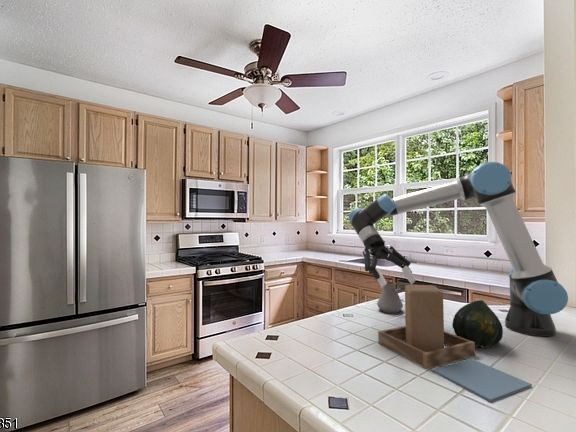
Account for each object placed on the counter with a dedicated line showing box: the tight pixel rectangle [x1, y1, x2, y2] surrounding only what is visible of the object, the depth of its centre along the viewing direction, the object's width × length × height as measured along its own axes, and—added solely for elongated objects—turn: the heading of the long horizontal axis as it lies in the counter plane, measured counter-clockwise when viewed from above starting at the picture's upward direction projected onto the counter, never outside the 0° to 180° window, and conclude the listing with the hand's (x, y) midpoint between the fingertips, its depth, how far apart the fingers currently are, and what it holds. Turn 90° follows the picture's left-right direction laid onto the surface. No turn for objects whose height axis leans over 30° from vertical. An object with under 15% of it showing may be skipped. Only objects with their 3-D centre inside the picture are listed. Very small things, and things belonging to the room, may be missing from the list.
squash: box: [452, 300, 504, 348], centre depth 105 cm, size 14×15×15 cm
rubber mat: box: [432, 357, 533, 403], centre depth 81 cm, size 16×16×1 cm
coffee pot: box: [376, 281, 416, 314], centre depth 139 cm, size 21×12×15 cm, turn 25°
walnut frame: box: [377, 325, 476, 370], centre depth 101 cm, size 20×20×4 cm
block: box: [404, 284, 445, 352], centre depth 101 cm, size 10×10×20 cm
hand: (399, 283), depth 110 cm, fingers open, 13 cm apart
